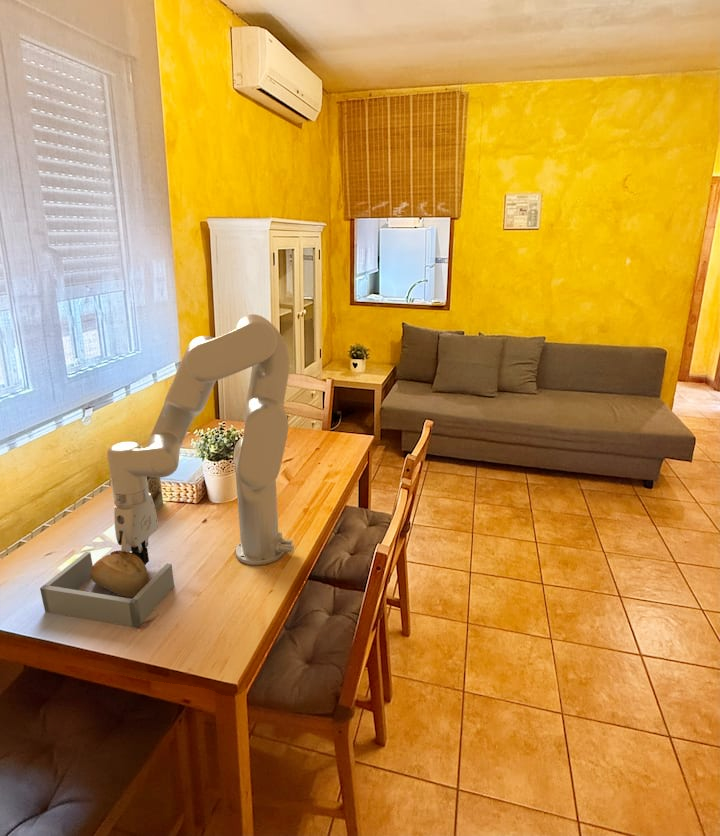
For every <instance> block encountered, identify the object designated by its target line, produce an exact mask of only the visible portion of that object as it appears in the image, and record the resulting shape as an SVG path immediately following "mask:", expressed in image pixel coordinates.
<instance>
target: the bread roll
mask: <svg viewBox="0 0 720 836" xmlns="http://www.w3.org/2000/svg"><path fill="white" fill-rule="evenodd" d="M90 576H91V577H90V579H91V581H92V582H93V583H94V584H96V585H97V586H100V587H102V588H104V589H106V590H108V591H110V592H113V593H114V594H116V595H118V596H119V597H123V598H129V599H132V598H134V597H135V596H136V595H137V594H138V593H139V592H140V591H141V589H142V588H143V587H144V586H145V585H146V584H147V583H148V582H149V581H150V580H149V577H150V576H149V572H148V569H147V567H146V565H145V564H144V563H143V561H142V560H141V559H140V558H139V557H138V556H136V555H135V554H133V553H132V552H131V551H130V552H128V553H124V552H122V549H120V550H114V551H112V552H110V553H109V554H106V555H104V556H103V557H102V558H100V559H99V560H97V561H96V562H95V563H94V564H93V567H92V569H91V574H90Z"/></svg>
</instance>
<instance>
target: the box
mask: <svg viewBox="0 0 720 836" xmlns="http://www.w3.org/2000/svg"><path fill="white" fill-rule="evenodd" d="M93 566H94V564H93V560H92V554H91V552H89V551H85V552H84V553H83V554H81V555H80V556H79V557H78V558H76V559H75V560H74V561H72V562H71V563H70V564H68V566H66V567H64V568H63V569H62V570H61V571H60V572H58V573H57V574H56V575H54V576H53V577H52V578H51V579H50V580H48V581H47V582H45V584H43V585H42V586H41V587H39V590H40V595H41V600H42V604H43V609H44V612H45V613H50V614H57V615H62V616H68V617H75V618H80V619H85V620H89V621H90V620H92V621H97V622H103V623H108V624H109V623H110V624H114V625H120V626H125V627H126V626H127V627H130V628H132V627H133V628H139V627H140V626H141V624H143V622H145V620H146V619H148V617H149V616H150V614H152V613H153V611H154V610H155V609H156V608H157V606H158V605H159V604H161V602H162V601H163V600H164V599H165V598H166V597H167V596H168V594H170V592H171V591H172V590H173V589H174V587H175V582H174V580H175V579H174V572H173V566H172V563H166V564H165V565H164V566H163V567H162V568H161V569H160V570H159V571H157V573H156V574H155V575H154V576H153V577H152V578H151V579H150V580H148V583H147V584H146V585H145V586H144V587H143V588H142V589H141V591H140V592H139V593H138V594H137V595H136V596H135V597H132V598H129V597H124V596H116V595H111V594H110V595H109V594H104V593H103V594H102V593H97V592H90V591H84V590H78V589H79V588H80V587H81V586H83V585H84V584H85V583H86V582H87V581H89V579H91V576H90V574H91V569H92V567H93Z"/></svg>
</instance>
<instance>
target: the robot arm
mask: <svg viewBox="0 0 720 836" xmlns="http://www.w3.org/2000/svg"><path fill="white" fill-rule="evenodd" d="M248 368H251V371H250V379H249V380H250V381H249V385H248V389H247V395H246V401H245V404H244V408H243V412H242V416H243V417H242V419H243V423H244V431H243V435H242V436H241V437H240V438H239V439H238V441H237V442H236V444H235V446H234V449H233V463H234V471H235V472H234V473H235V474H234V475H235V480H236V482H235V483H236V493H237V495H236V497H237V508H238V511H237V512H238V521H239V524H238V525H239V534H240V535H239V537H240V542H238V544H237V545H236V546H235V549H234V550H235V553H234V554H235V557H236V559H237V560H238V561H239V562H241V563H243V564H246V565H249V566H250V565H251V566H261V565H267V564H271V563H273V562H276V561H278V560H279V559H280V558H282V556H283V555H284V554H285V553H292V554H293V553H294V551H295V550H294V549H295V545H294V544H293V540H291V539H285V538H283V532H279V518H278V502H277V501H278V499H277V497H278V494H277V478H278V476H279V474H280V470H281V467H282V466H281V465H282V462H283V457H284V453H285V448H286V443H287V439H288V434H289V420H288V415H287V413H286V410H285V406H284V405H285V397H286V391H287V385H288V379H289V372H290V355H289V351H288V347H287V345H286V342H285V340H284V337H283V336H282V334H281V333H280V331H279V330H278V328H276V327H275V325H274V324H272V323H271V321H269V320H268V319H267V318H265V317H263V316H262V315H259V314H247V315H245V316H243V317H242V318H240V319H239V321H238V322H237V323H236V327H235V329H234V330H232V331H229V332H227V333H225V334H222V335H220V336H217V337H212V336H209V335H199V336H197V337H195V338H193V339H192V340H191V341H190V342H189V344H188V345H187V347H186V349H185V352H184V355H183V357H182V359H181V361H180V364H179V365H178V368H177V371H176V373H175V375H174V378H173V380H172V383H171V384H170V386H169V388H168V392H167V394H166V396H165V398H164V403H163V405H162V408H161V410H160V412H159V415H158V417H157V420H156V422H155V424H154V427H153V429H152V431H151V433H150V436H149V437H148V440H147V444H146V447H143V446H142V445H141V444H140V443H139V442H136V441H122V442H118V443H114V444H112V445H111V446H110V447H108V449H107V453H106V455H107V463H108V467H109V473H110V474H109V475H110V480H111V481H110V482H111V487H112V493H113V500H114V501H113V503H114V505H115V506H114V530H115V536H116V537H115V538H116V541H117V544H118V545H119V546H121V550H122V552H124V553H128V552H130V553H133V554H135V555H136V556H138V557H139V558H140V559H141V560H142V561H143V563H144V564H145V566H146V565H147V564H148V563H149V562H150V559H149V552H148V551H149V550H148V546H149V539H150V536H151V535H152V534H154V533H155V532H156V531H157V530H158V528H159V521H158V516H157V514H158V513H157V510H156V509H157V508H156V509H155V505H154V502H153V499H152V496H151V494H150V493H149V489H148V482H147V477H160V478H166V477H170V476H171V475H173V474H174V473H175V472H176V471H177V469H178V467H179V464H180V463H179V462H180V452H181V448H182V445H183V442H184V440H185V438H186V435H187V433H188V430H189V429H190V427H191V424H192V423H193V422H194V419H196V417H197V416H198V415H200V414H201V413H202V412H203V411H204V409H205V407H206V405H207V402H208V401H209V398H210V395H211V393H212V391H213V389H214V386H215V384H216V383H217V382H216V381H220V380H222V379H224V378H225V379H226V378H228V377H230V376H232V375H235V374H238V373H240V372H243V371H244V370H246V369H248Z"/></svg>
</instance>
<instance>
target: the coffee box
mask: <svg viewBox="0 0 720 836" xmlns="http://www.w3.org/2000/svg"><path fill="white" fill-rule="evenodd" d="M147 482H148V489H149V493H150V494H151V496H152V499H153V502H154V505H155V509H157V508H158V507H160V506H161V505H162V504H163V503H164V499H163V490H162V482H161V477H147Z"/></svg>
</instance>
